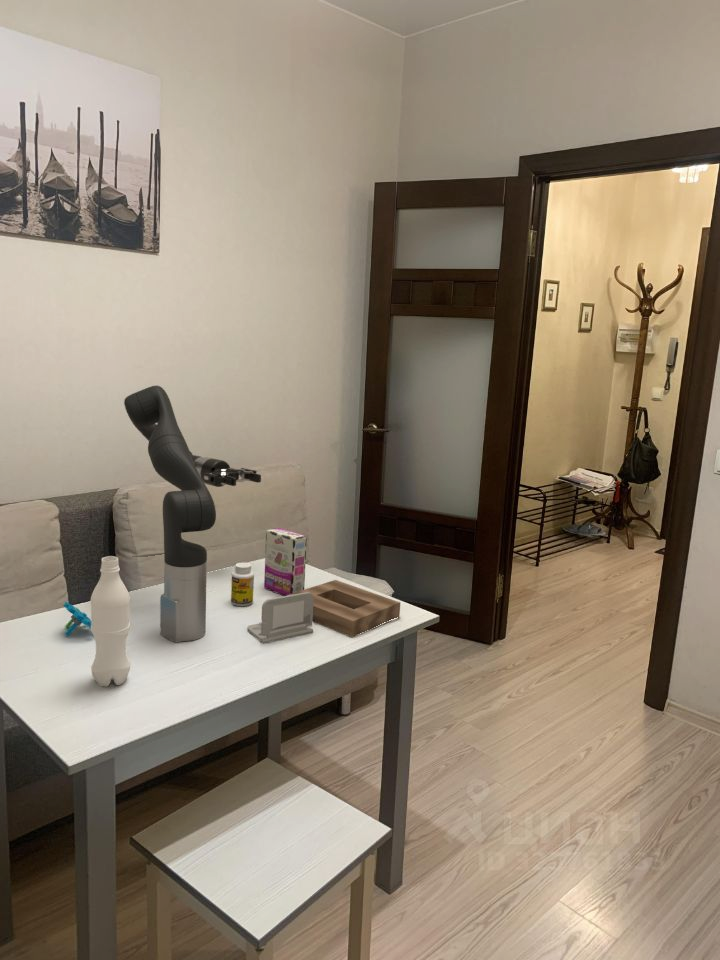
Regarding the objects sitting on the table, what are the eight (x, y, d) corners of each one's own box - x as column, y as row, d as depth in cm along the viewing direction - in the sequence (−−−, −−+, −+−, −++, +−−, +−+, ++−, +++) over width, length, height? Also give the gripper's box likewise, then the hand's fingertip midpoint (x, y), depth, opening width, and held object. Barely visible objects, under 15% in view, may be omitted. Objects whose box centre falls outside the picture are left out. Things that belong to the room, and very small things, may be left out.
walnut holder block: (352, 637, 171) (352, 621, 170) (286, 610, 185) (286, 595, 184) (399, 617, 185) (400, 602, 184) (334, 593, 198) (335, 579, 198)
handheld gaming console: (293, 619, 180) (295, 580, 178) (313, 633, 173) (315, 592, 171) (244, 629, 172) (246, 589, 170) (263, 644, 165) (264, 602, 163)
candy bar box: (305, 595, 196) (308, 535, 193) (291, 599, 193) (294, 539, 189) (276, 583, 203) (278, 526, 200) (263, 588, 200) (265, 529, 196)
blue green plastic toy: (106, 632, 162) (70, 605, 158) (86, 654, 160) (50, 626, 156) (98, 620, 172) (64, 594, 168) (79, 641, 170) (45, 615, 166)
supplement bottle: (227, 605, 186) (228, 566, 184) (236, 597, 191) (237, 560, 189) (247, 608, 185) (248, 569, 183) (256, 601, 190) (257, 563, 188)
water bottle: (93, 691, 139) (91, 565, 134) (90, 675, 146) (88, 554, 141) (132, 686, 142) (132, 563, 137) (128, 670, 149) (127, 551, 144)
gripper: (189, 460, 202) (226, 469, 192) (230, 456, 213) (268, 464, 202) (189, 487, 204) (226, 497, 193) (230, 481, 214) (267, 491, 204)
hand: (247, 480), depth 198 cm, fingers open, 8 cm apart
